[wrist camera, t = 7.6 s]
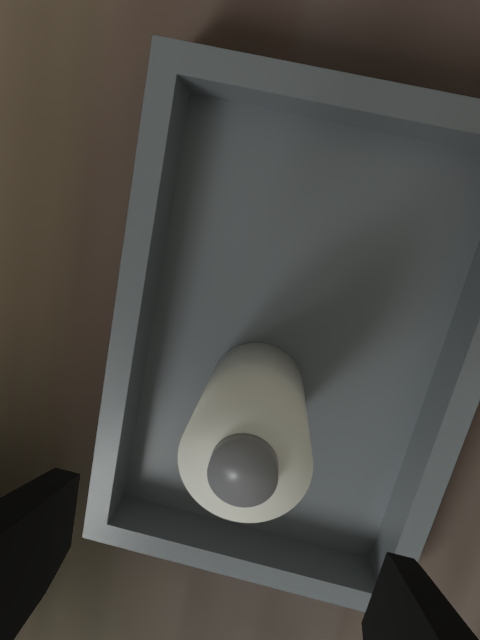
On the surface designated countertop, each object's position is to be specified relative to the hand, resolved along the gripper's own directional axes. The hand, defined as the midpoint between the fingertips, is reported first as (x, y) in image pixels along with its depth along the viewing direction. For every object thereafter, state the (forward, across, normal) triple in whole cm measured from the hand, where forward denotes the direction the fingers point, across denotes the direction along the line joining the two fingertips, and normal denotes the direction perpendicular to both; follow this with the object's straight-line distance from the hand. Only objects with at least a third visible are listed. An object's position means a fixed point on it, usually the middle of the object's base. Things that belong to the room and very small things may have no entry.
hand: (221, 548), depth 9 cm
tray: (+9, -1, -2) cm, 10 cm away
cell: (+9, 0, 0) cm, 9 cm away
